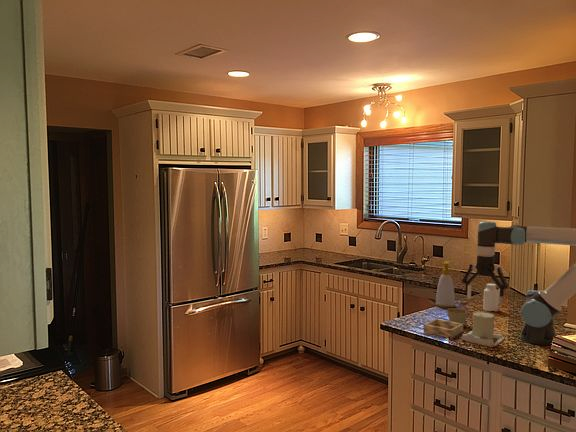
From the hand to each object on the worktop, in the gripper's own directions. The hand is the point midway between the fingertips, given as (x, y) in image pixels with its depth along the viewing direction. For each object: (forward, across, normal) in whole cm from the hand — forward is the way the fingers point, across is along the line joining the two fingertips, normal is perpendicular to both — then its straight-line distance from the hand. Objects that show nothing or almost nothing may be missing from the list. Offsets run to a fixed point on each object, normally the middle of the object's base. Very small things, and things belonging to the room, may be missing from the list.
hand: (483, 300), depth 221 cm
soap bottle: (+18, +38, -49) cm, 65 cm away
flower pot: (+18, +18, -15) cm, 30 cm away
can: (+18, 0, 0) cm, 18 cm away
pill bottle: (+18, +14, -57) cm, 61 cm away
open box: (+18, +18, +2) cm, 25 cm away
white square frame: (+18, 0, 0) cm, 18 cm away
